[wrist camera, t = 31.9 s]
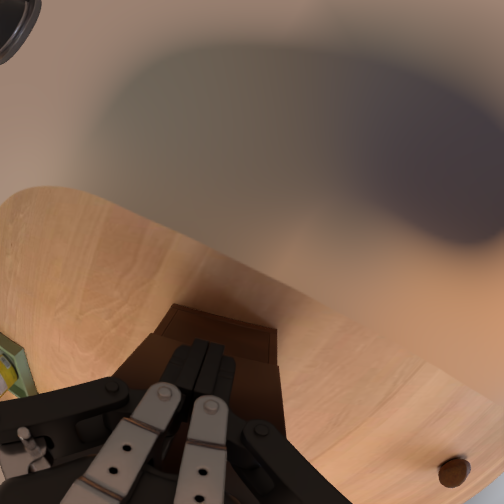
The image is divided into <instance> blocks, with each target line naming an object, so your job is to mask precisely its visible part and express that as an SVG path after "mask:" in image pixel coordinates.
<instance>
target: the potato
mask: <svg viewBox="0 0 504 504" xmlns="http://www.w3.org/2000/svg"><path fill="white" fill-rule="evenodd" d="M470 470H471V465H470V463H469V462H468V461H466V460H464V459H453V460H451V461H449V462H447V463H446V464H444V465H443V466H442V467H441V469H440V471H439V474H438V475H439V481H440V483H441V484H442V485H444V486H445V487H448V488H455V487H458V486H460V485H461V484H462V483H463V482H464V481H465V480H466V478H467V476H468V474H469V473H470Z"/></svg>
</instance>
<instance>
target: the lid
mask: <svg viewBox="0 0 504 504" xmlns="http://www.w3.org/2000/svg"><path fill="white" fill-rule="evenodd" d="M182 344H184V345H188V346H192V345H189V344H186V343H182V342H179V341H176V340H172V339H169V338H166V337H163V336H159V335H156V334H153V333H150V334H149V336H148V337H147V338H146V339H145V340H144V341H143V342H142V343H141V344H140V345H139V346H138V348H137V349H136V350H135V351H134V352H133V353H132V354H131V355H130V356H129V357H128V358H127V360H126V361H125V362H124V363H123V364H122V365H121V366H120V367H119V368H118V370H117V371H116V372H115V373H114V374H113V375H112V376H111V377H117V378H120V379H122V380H123V381H125V382H126V383H127V385H128V387H129V388H130V389H141V390H143V389H149V388H150V386H151V385H153V384H155V383H158V382H159V380H160V378H161V376H162V374H163V372H164V370H165V368H166V366H167V364H168V362H169V360H170V358H171V357H172V354H173V352H174V350H175V349H176V348H177V347H179V346H180V345H182ZM223 355H226V356H230V357H234V360H235V362H236V370H235V375H234V380H233V386H232V391H231V396H230V401H229V405H230V408H231V410H232V411H233V413H234V414H236V415H237V416H238V417H240V418H242V419H244V420H246V421H249V420H252V419H264V420H267V421H269V422H271V423H272V424H273V425H274V426H275V427H276V428H277V429H278V430H279V431H280V432H281V433H282V434H283V435H284V437H285V438H286V428H285V419H284V409H283V400H282V391H281V382H280V373H279V366H277V365H272V364H267V363H262V362H258V361H253V360H249V359H244V358H240V357H236V356H231V355H227V354H223ZM189 417H190V416H189ZM189 426H190V424H189V419H188V422H187V423H185V422H181V425H180V428H179V430H178V434H177V436H176V438H175V441H174V443H173V445H172V447H171V449H170V451H169V453H168V456H167V458H166V460H165V462H164V464H163V468H162V472H164V473H173V474H179V472H180V467H181V462H182V457H183V452H184V447H185V443H186V440H187V435H188V431H189ZM286 439H287V438H286ZM103 445H104V444H103ZM103 445H100V446H97V447H94V448H91V449H88V450H85V451H81V452H78V453H75V454H71V455H68V456H64V457H61V458H57V459H54V462H53V465H52V467H53V466H57V465H60V464H63V463H66V462H69V461H72V460H75V459H78V458H81V457H84V456H87V455H91V454H98V453H99V451H100V450H101V448H102V447H103ZM224 490H225V491H227V492H228V493H230V494H231V495H233V496H234V497H235V498H236V499H237V500H238V501H239V502H240V503H241V504H260V502H259V501H258V500H257V499H256V498H255V496H254V495H253V494H252V493H251V491H250V490H249V489H248V488H247V486H246V485H245V484H244V483H243V481H242V480H241V479H240V477H239V476H238V475H237V473H236V472H235V471H234V469H233V468H232V466H231V463H230V462H228V461H226V475H225V489H224Z"/></svg>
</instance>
